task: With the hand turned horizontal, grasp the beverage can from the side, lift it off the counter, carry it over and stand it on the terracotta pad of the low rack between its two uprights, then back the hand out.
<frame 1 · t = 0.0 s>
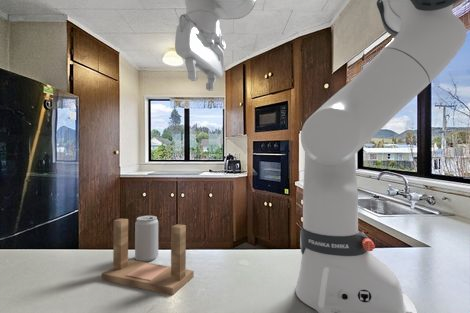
hand: (202, 85, 65), 48 cm above the worktop, tool pointing down, fingers open, 8 cm apart
beverage can: (146, 259, 74), on the worktop
rack: (148, 278, 62), on the worktop
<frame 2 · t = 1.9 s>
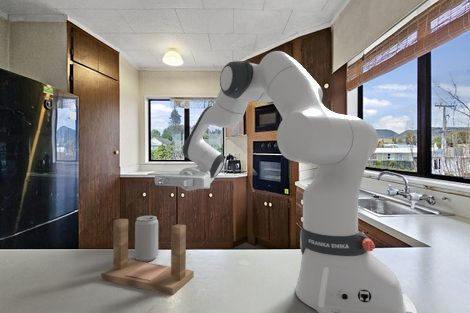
hand: (169, 182, 86), 21 cm above the worktop, tool horizontal, fingers open, 8 cm apart
nothing on the worktop moved.
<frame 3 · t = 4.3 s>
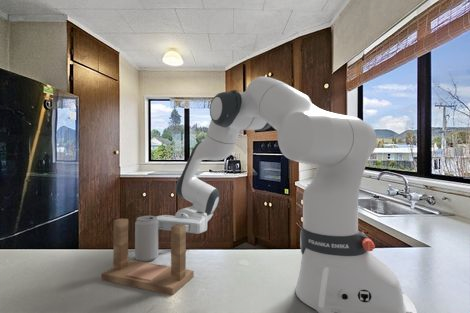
hand: (164, 229, 82), 6 cm above the worktop, tool horizontal, fingers open, 8 cm apart
nothing on the worktop moved.
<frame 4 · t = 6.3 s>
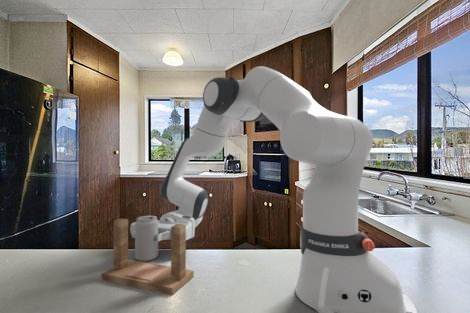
hand: (144, 236, 73), 7 cm above the worktop, tool horizontal, fingers closed on beverage can, 6 cm apart
beverage can: (146, 259, 74), on the worktop, touching gripper
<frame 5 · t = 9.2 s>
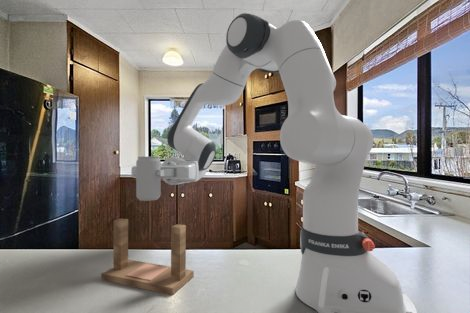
hand: (146, 173, 70), 25 cm above the worktop, tool horizontal, fingers closed on beverage can, 6 cm apart
beverage can: (148, 200, 71), point 18 cm above the worktop, touching gripper
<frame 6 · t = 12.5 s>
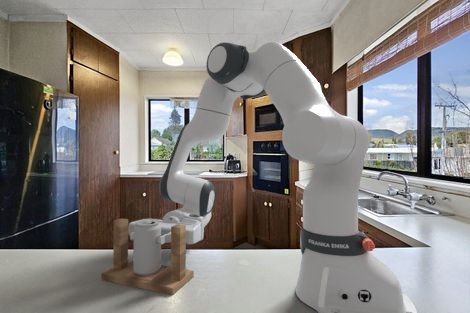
hand: (145, 238, 61), 10 cm above the worktop, tool horizontal, fingers closed on beverage can, 6 cm apart
beverage can: (147, 272, 62), point 2 cm above the worktop, touching gripper, rack
when the fingers open (10 cm above the worktop, at t = 13.0 s): beverage can stays where it is, resting on rack.
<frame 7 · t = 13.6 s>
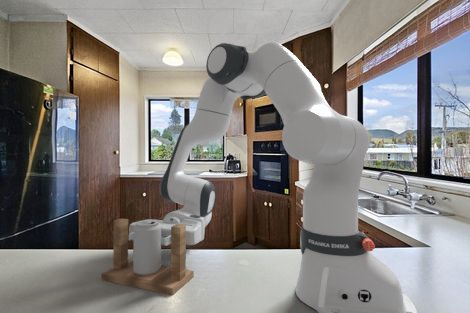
hand: (146, 239, 61), 10 cm above the worktop, tool horizontal, fingers open, 8 cm apart
beverage can: (147, 272, 62), point 2 cm above the worktop, touching rack
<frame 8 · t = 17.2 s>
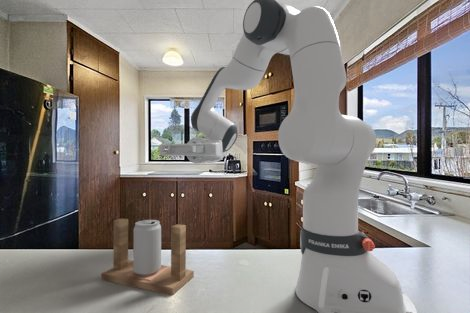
hand: (176, 148, 74), 32 cm above the worktop, tool horizontal, fingers open, 8 cm apart
nothing on the worktop moved.
at the end: beverage can inside the target area on the rack (0.2 cm from its centre), point 1.5 cm above the rack's base; beverage can tilted 0°; the gripper is holding nothing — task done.
